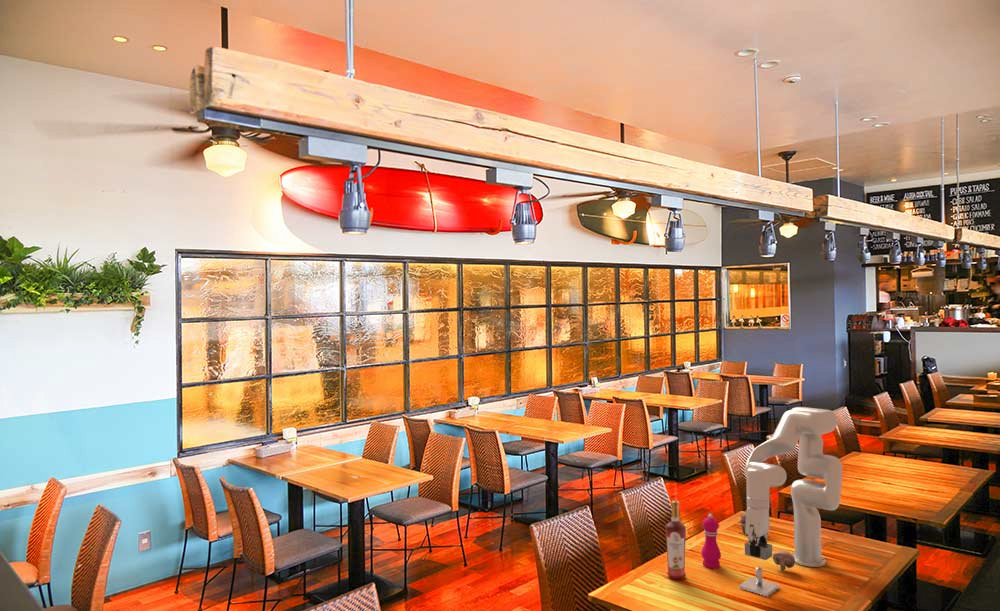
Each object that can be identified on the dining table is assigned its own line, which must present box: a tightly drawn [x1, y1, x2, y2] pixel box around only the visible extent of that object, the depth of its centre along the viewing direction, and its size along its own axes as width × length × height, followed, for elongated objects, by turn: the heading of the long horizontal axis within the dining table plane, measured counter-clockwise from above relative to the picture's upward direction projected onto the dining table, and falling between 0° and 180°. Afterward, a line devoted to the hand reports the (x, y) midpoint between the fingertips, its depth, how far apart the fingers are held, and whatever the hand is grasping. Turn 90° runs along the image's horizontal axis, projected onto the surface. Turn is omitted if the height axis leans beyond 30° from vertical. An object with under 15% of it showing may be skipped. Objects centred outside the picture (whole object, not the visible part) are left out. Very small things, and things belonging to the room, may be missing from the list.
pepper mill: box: [701, 513, 722, 570], centre depth 248 cm, size 7×7×20 cm
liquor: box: [665, 500, 687, 581], centre depth 238 cm, size 7×7×28 cm
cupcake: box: [740, 509, 756, 536], centre depth 282 cm, size 10×10×10 cm
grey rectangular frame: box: [744, 539, 773, 561], centre depth 227 cm, size 8×6×4 cm
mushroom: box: [772, 550, 796, 572], centre depth 242 cm, size 8×6×8 cm
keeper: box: [738, 566, 780, 598], centre depth 227 cm, size 10×10×7 cm
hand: (758, 553), depth 227 cm, fingers closed on grey rectangular frame, 5 cm apart
